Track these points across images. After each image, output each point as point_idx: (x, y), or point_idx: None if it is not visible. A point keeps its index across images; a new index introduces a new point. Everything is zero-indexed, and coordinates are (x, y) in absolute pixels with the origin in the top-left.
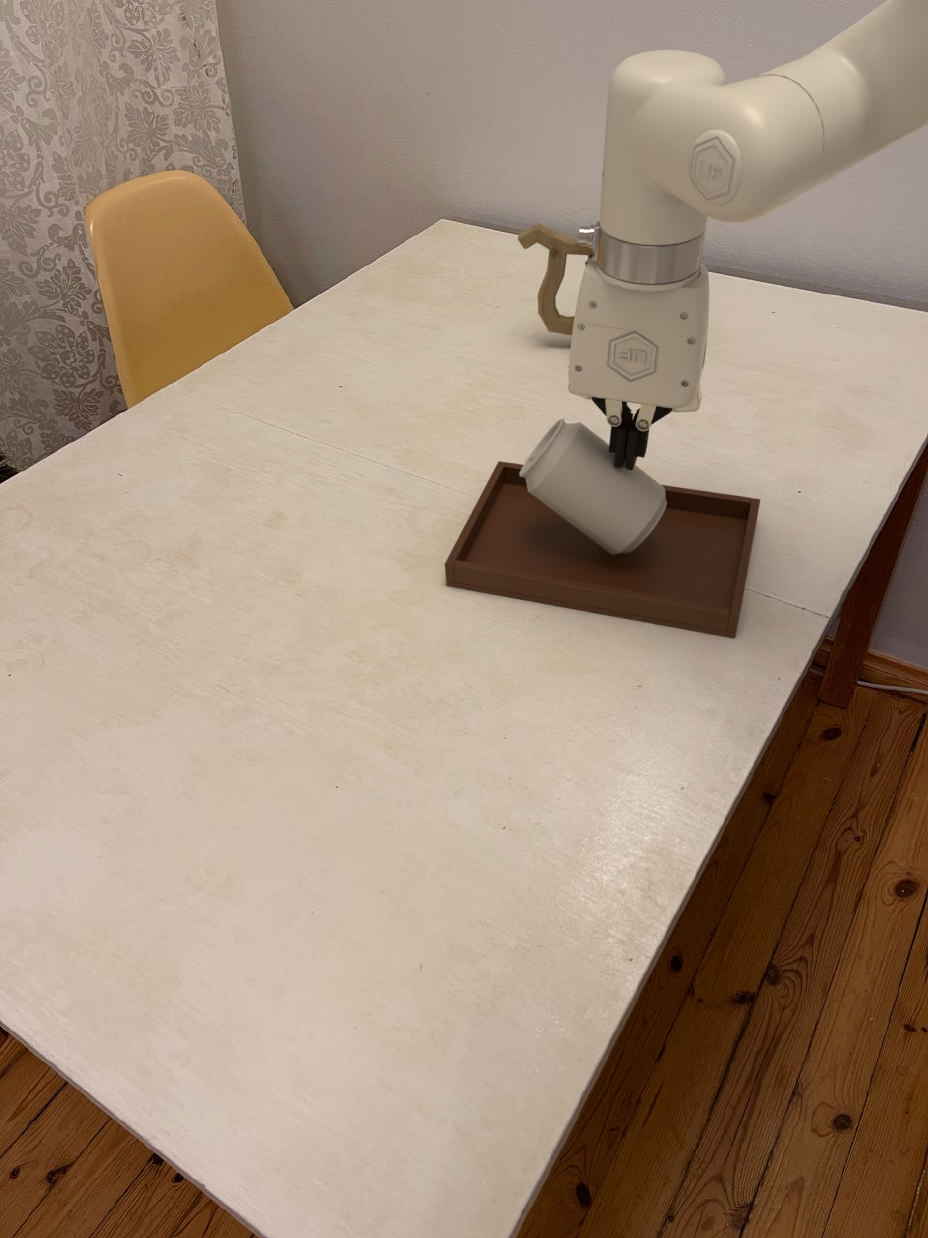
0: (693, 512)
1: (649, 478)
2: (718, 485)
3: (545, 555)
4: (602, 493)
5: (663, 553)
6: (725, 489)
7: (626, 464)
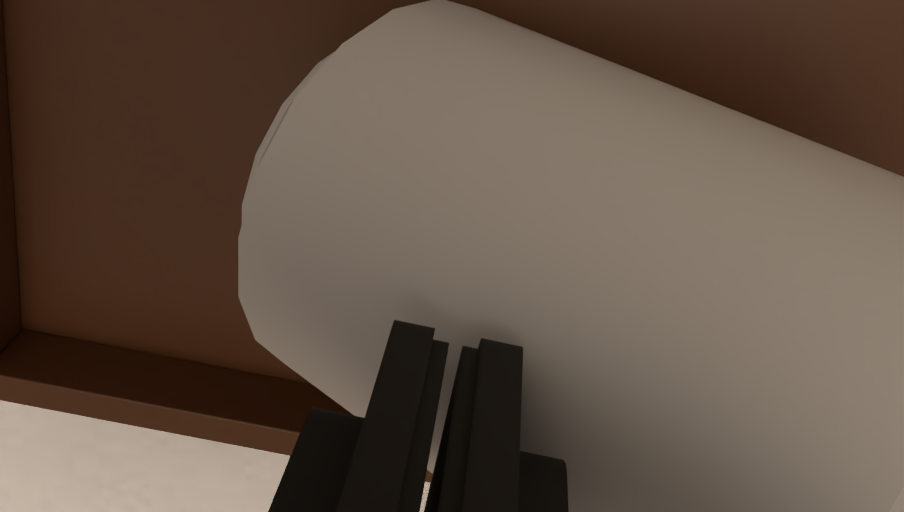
0: (211, 360)
1: (314, 352)
2: (153, 495)
3: (786, 92)
4: (592, 176)
5: None
6: (129, 478)
7: (435, 353)
